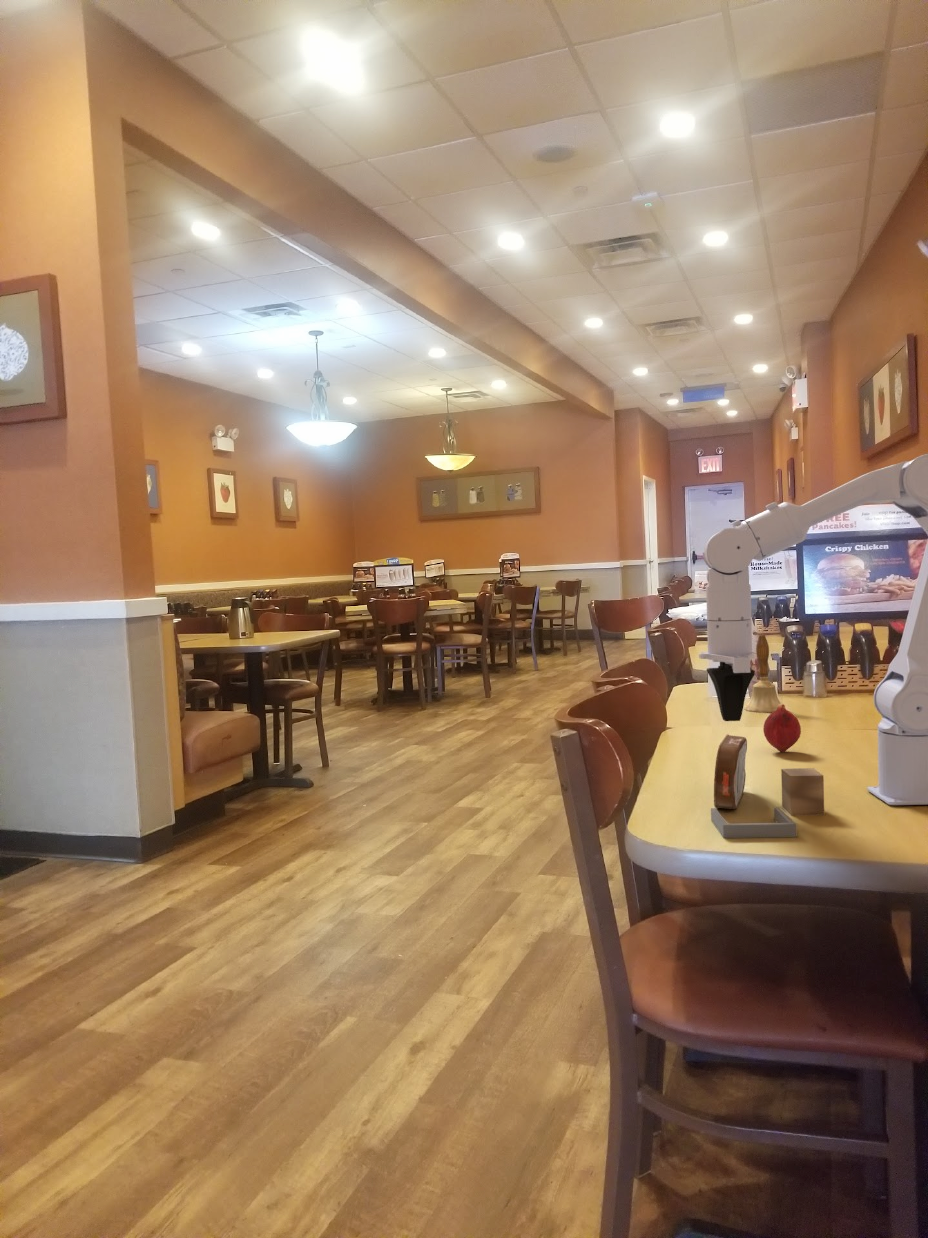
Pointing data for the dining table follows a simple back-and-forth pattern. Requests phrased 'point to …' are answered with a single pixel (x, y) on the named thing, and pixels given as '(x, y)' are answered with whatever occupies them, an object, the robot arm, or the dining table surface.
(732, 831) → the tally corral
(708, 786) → the dining table surface
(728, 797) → the tin
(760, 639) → the hand bell
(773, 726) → the onion
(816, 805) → the walnut block
